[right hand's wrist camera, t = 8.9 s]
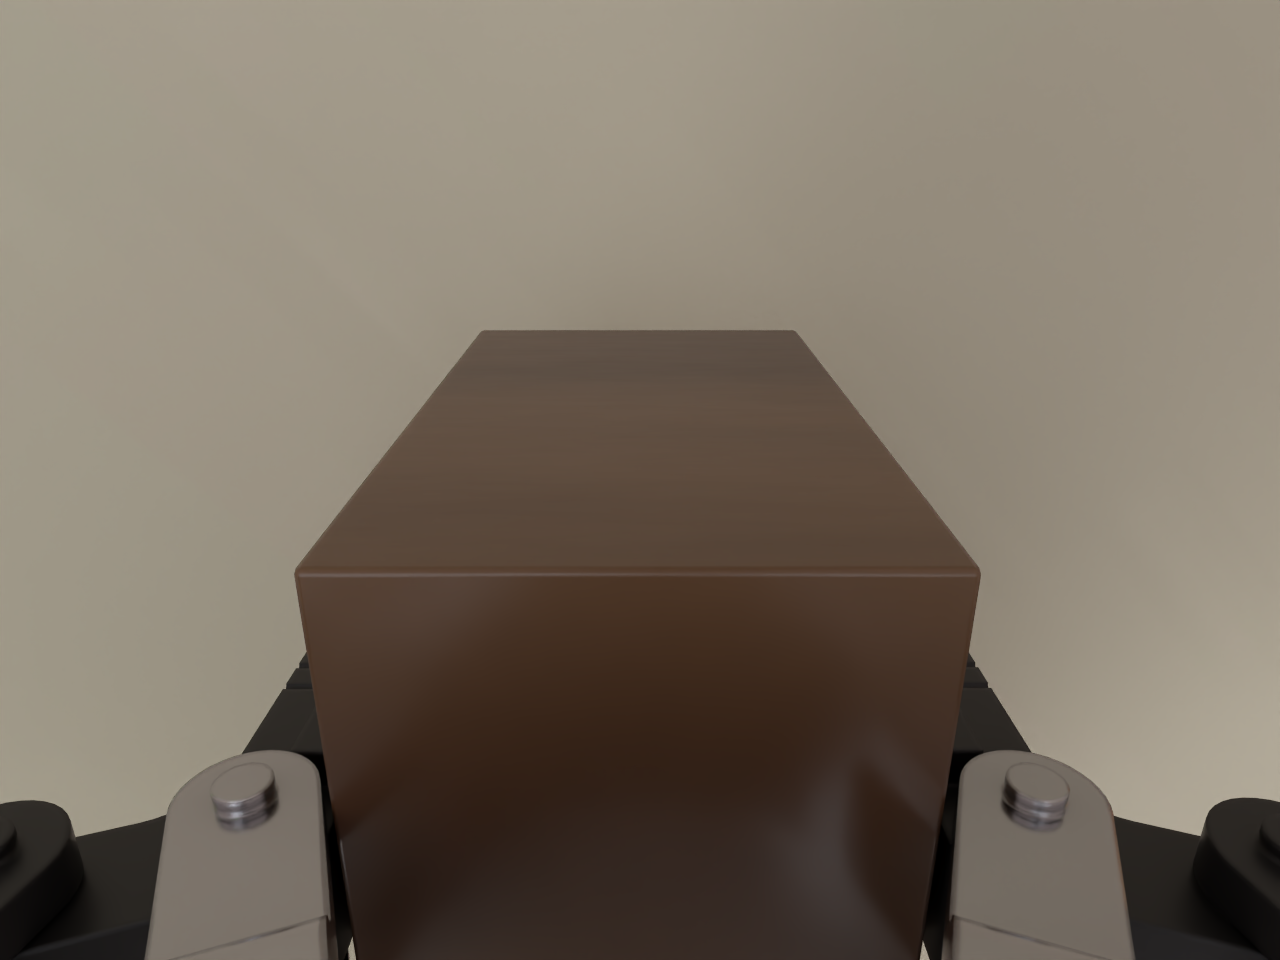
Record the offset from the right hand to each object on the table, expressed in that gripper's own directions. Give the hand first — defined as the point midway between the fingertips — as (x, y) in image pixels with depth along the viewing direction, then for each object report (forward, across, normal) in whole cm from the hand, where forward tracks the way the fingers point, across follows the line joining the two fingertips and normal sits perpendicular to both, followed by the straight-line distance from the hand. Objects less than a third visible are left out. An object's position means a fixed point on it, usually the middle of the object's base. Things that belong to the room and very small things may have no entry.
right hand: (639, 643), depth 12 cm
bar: (+4, 0, -8) cm, 9 cm away
